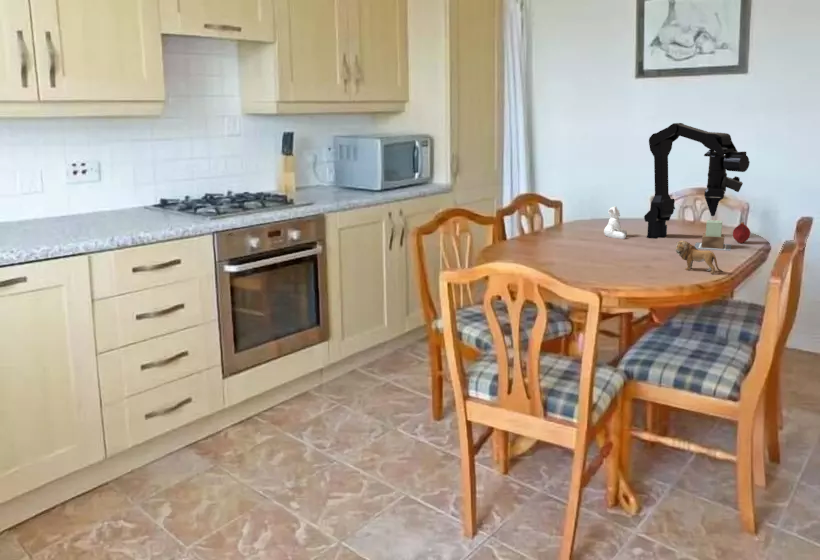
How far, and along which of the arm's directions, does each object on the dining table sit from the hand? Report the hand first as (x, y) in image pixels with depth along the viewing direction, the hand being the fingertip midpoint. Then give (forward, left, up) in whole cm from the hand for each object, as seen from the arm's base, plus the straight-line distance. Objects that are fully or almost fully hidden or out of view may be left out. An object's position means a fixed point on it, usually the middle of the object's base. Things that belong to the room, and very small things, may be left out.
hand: (713, 214), depth 256 cm
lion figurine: (-2, -40, -12) cm, 42 cm away
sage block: (+1, -1, -8) cm, 8 cm away
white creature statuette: (-35, +10, -12) cm, 39 cm away
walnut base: (+1, -1, -12) cm, 12 cm away
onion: (+10, +9, -12) cm, 18 cm away
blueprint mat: (+1, -1, -12) cm, 12 cm away
